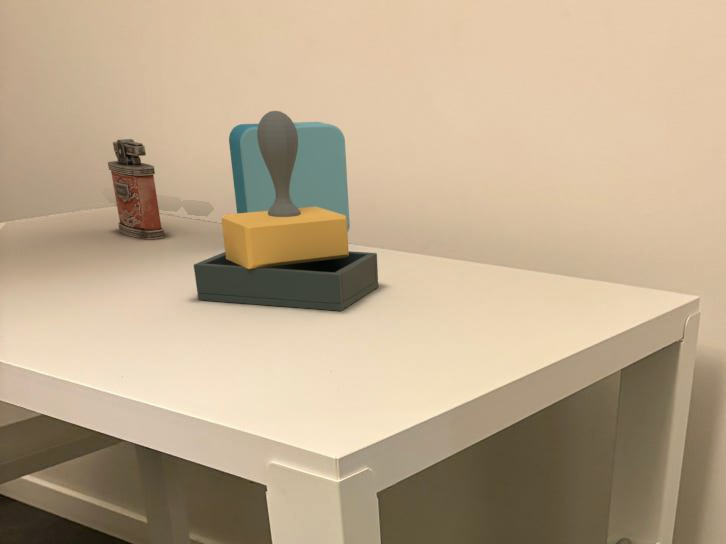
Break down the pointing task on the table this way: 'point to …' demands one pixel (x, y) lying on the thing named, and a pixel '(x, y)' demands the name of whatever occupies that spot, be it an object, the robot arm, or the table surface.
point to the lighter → (135, 191)
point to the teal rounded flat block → (309, 176)
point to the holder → (289, 282)
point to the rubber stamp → (283, 212)
